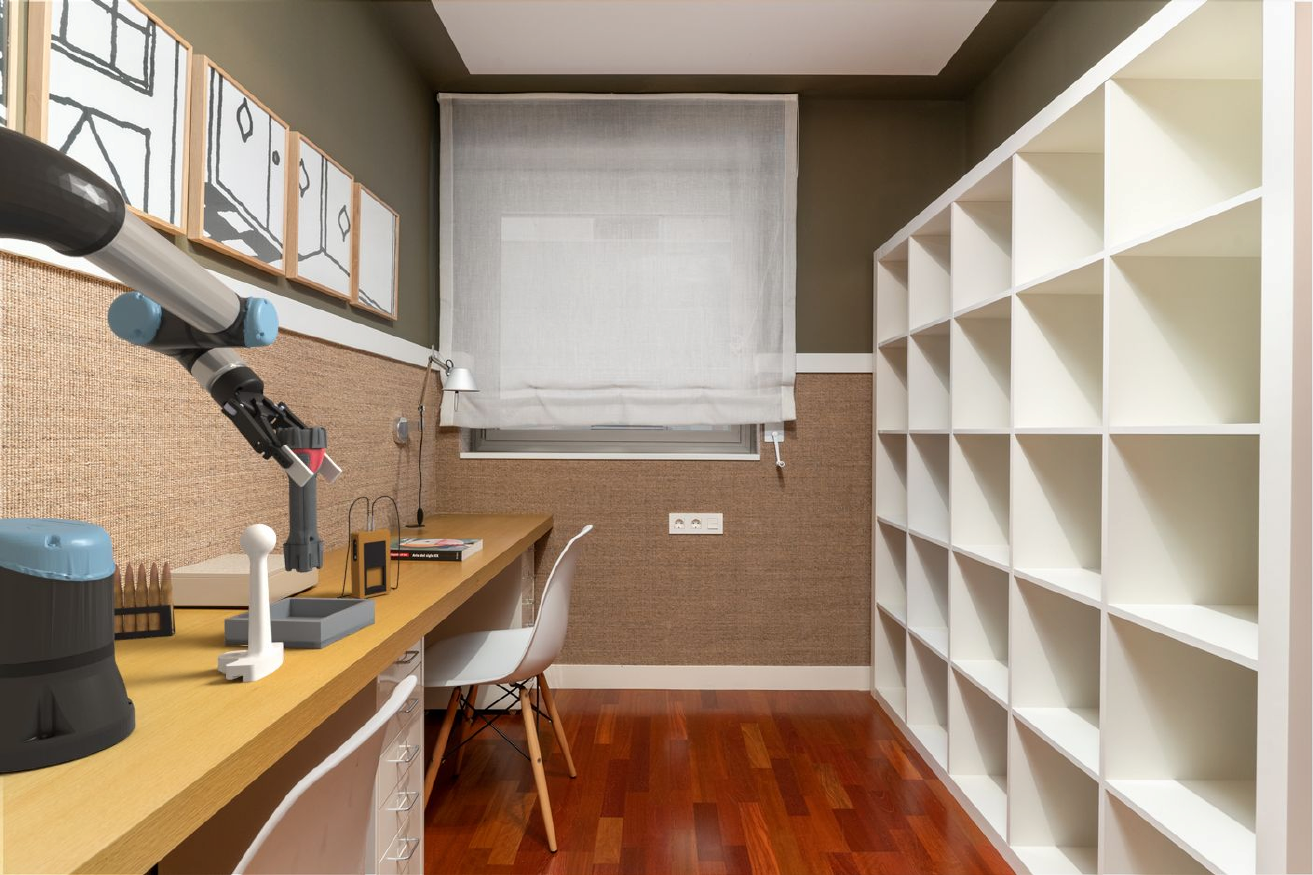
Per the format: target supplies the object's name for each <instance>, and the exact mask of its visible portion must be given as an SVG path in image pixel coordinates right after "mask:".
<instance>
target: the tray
mask: <svg viewBox="0 0 1313 875" xmlns="http://www.w3.org/2000/svg"><path fill="white" fill-rule="evenodd" d="M375 601H376V600H375V599H374V598H371V599H370V598H365V599H356V598H342V599H341V598H339V599H338V597H336V598H334V597H333V598H332V597H331V598H328V597H324V598H323V597H289V596H287V597H285V598H284V599H280V600H277V601H273V602H271V603H269V608H270V626H271V643H278V642H282V643H283V648H289V649H290V648H293V649H296V648H297V649H298V648H299V649H319V650H320V649H324V648H325V647H327V646H329V645H331V644H334V643H336V642H337V641H340V640H342V639H344V638H346V637H348V636H350V635H353V634H355V633H356V632H358V631H360V630H363V629H365V628H367V627H369V626H372V625H373V624H375V623H376V611H375V610H376V605H375V604H376V602H375ZM223 622H224V624H223V625H224V646H225V645H248V631H249V610H248V611H245V612H243V613H239V614H237V615H234V616H231V617H227V618H224V620H223Z"/></svg>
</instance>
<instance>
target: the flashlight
mask: <svg viewBox="0 0 1313 875" xmlns="http://www.w3.org/2000/svg"><path fill="white" fill-rule="evenodd" d="M275 434H276V436H277V437H278V439H279V441H280V443H281V446H280V447H281V448H282V446H283V445H287V446H288V447H289V448H290V449H291V450H292V451H293V452H294V454H295V455H296V456H297V457H298V458H299V459H300V460H301V461H302V462H303V463H304V464H305V465H306V466H307V467H308V468H309V469H310V470H311V472H312V473H313V474H314V475H313V476H312V477H311V478H310V479H309V480H308V481H307V482H306V484H305V485H304V486H302V487H300V486H299V485H298V484H297V483H296V482H295V481H294V480H293V479H292V478H291V476H290V475H289V474H288V473H287V472H286V471H285V470H284V471H285V473H286V475H287V477H288V479H287V480H288V515H289V516H288V520H289V523H288V524H289V525H288V526H289V532H288V537H287V538H286V541H285V542H284V543H283V544H282V547H283V559H284V560H283V561H284V562H283V563H284V570H285V571H286V572H292V570H295V571H296V572H297V573H301V574H302V573H310V572H312V571H313V568H316V570H320V569H322V568H323V566H324V541H323V540H321V538H320V536H319V534H318V512H317V510H318V509H317V508H318V506H317V505H318V504H317V477H318V475H319V473H320V472H319V470H320V468H321V465H322V462H323V458H324V454H325V453H326V449H327V448H328V438H327V437H328V436H327V429H326V427H323V426H322V427H320V426H311V427H309V428H304V429H299V427H289V428H284V429H282V428H277V429H276V430H275Z"/></svg>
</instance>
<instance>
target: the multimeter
mask: <svg viewBox="0 0 1313 875" xmlns="http://www.w3.org/2000/svg"><path fill="white" fill-rule="evenodd" d="M382 498H389V499H390V500H391V501H392V504H394V508H395V511H396V518H397V527H398V528H397V529H398V552H397V553H398V554H397V555H398V558H397V559H398V560H397V576H396V578H397V579H396V587H394V586H393V587H392V586H391V582H392V581H391V580H392V579H391V578H392V577H391V574H392V573H391V572H392V571H391V570H392V569H391V568H392V556H391V530H390V529H389V528H375V527H376V526H375V522H374V520H375V519H374V518H375V517H374V505H375V503H376V502H377V501H378V500H379V499H382ZM361 499H366V503H367V504H366V505H367V506H366V511H367V513H366V514H367V516H366V530H361V531H353V532H352V531H351V511H352V510H353V509H352V508H353V507H354V505H355V503H356V501H358V500H361ZM369 503H370V502H369V498H368V497H367V496H360V497H357V498H356V499H355V500H354V501H353V502H352V503H351V505H350V508H349V512H348V546H347V547H348V548H347V552H346V560H345V570H344V578H343V586H342V592H341V596H338V597H337V598H338V599H344V598H345V597H350V596H351V598H352V599H369V598H373V597H377V596H382V595H384V596H386V595H390V593H391V592H392V589H393V590H397V589H398V587H399V579H400V578H399V577H400V576H399V575H400V559H401V557H400V556H401V550H400V549H401V530H400V529H401V528H400V526H401V525H400V518H399V512H398V508H397V505H396V502H395V500H394V498H392V497H391V496H389V495H381V496H379V497H377V498H376V499H375V500H374V501H373V503H372V504H371V523H370V514H369V513H370V512H369V511H370V510H369V509H370V506H369V505H370V504H369ZM349 555H350V568H351V570H350V571H351V572H350V573H351V579H350V580H351V594H346V595H344V593H345V587H346V580H347V570H348V564H349V562H348V561H349Z"/></svg>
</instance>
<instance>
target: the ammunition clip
mask: <svg viewBox="0 0 1313 875" xmlns="http://www.w3.org/2000/svg"><path fill="white" fill-rule="evenodd" d="M169 565H170V564H169V562H168V561H165V562H164V564H163V568H162V573H161V586H160V578H159V576H160V575H159V570H158V566H157V564H156V561H154V562H152V564H151V566H150V570H149V584H148V582H147V581H148V580H147V574H146V573H147V571H146V568H145V566H144V563H143V562H141V563H140V564H139V567H138V570H137V575H136V576H137V578H136V580H137V581H136V587H135V576H134V575H135V574H134V570H133V567H132V565H131V563H127V566H126V568H125V572H124V587H122V576H121V570H120V567H119V565H118V564H117V563H115V571H114V635H115V639H114V642H116V641H126V640H127V641H128V640H129V641H130V640H140V639H155V638H166V637H173V635H175V634H176V632H177V631H176V619H175V607H174V596H173V595H174V594H173V592H174V591H173V590H174V589H173V585H172V577H171V576H172V575H171V574H172V573H171V567H170V566H169Z"/></svg>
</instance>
